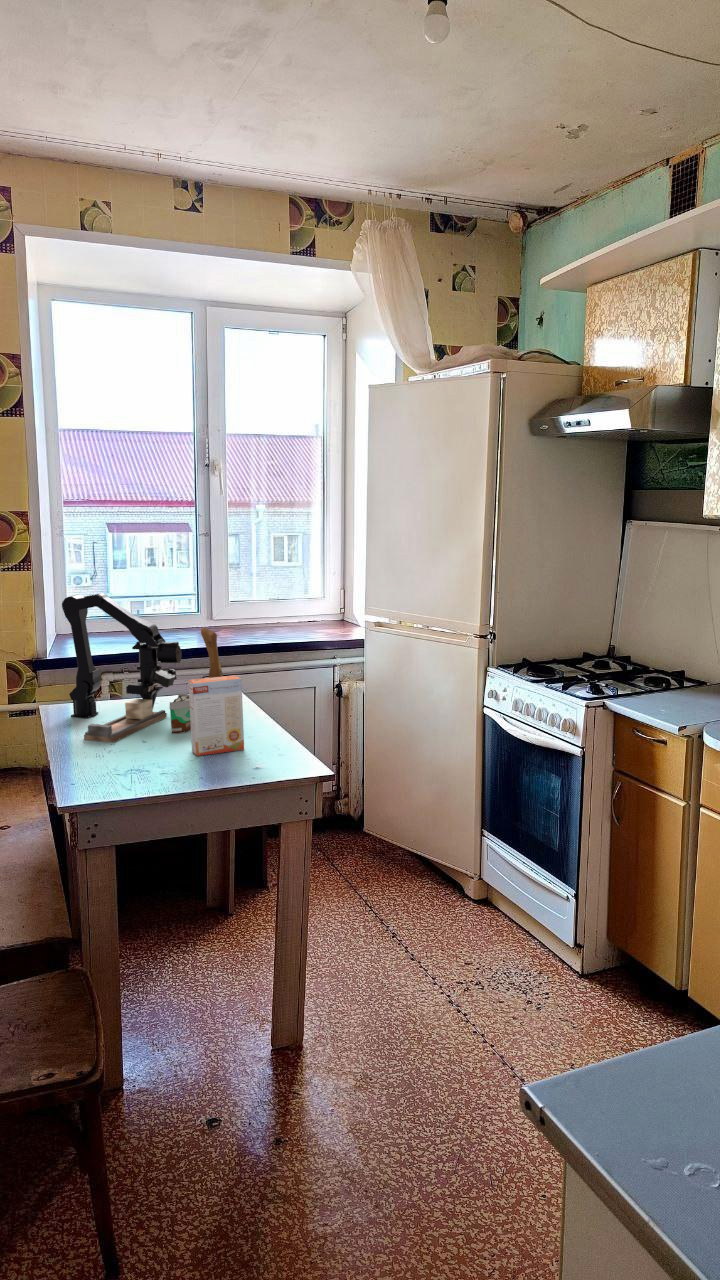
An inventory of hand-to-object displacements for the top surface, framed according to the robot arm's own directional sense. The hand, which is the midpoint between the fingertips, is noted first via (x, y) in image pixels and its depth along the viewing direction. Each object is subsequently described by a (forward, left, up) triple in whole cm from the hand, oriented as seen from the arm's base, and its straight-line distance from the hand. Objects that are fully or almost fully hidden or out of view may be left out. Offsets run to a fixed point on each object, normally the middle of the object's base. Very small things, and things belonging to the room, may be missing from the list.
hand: (150, 709), depth 280 cm
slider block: (0, -7, -1) cm, 7 cm away
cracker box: (+38, -27, -3) cm, 47 cm away
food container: (+18, -10, -3) cm, 21 cm away
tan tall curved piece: (+17, +13, -3) cm, 21 cm away
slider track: (0, -14, -2) cm, 14 cm away
